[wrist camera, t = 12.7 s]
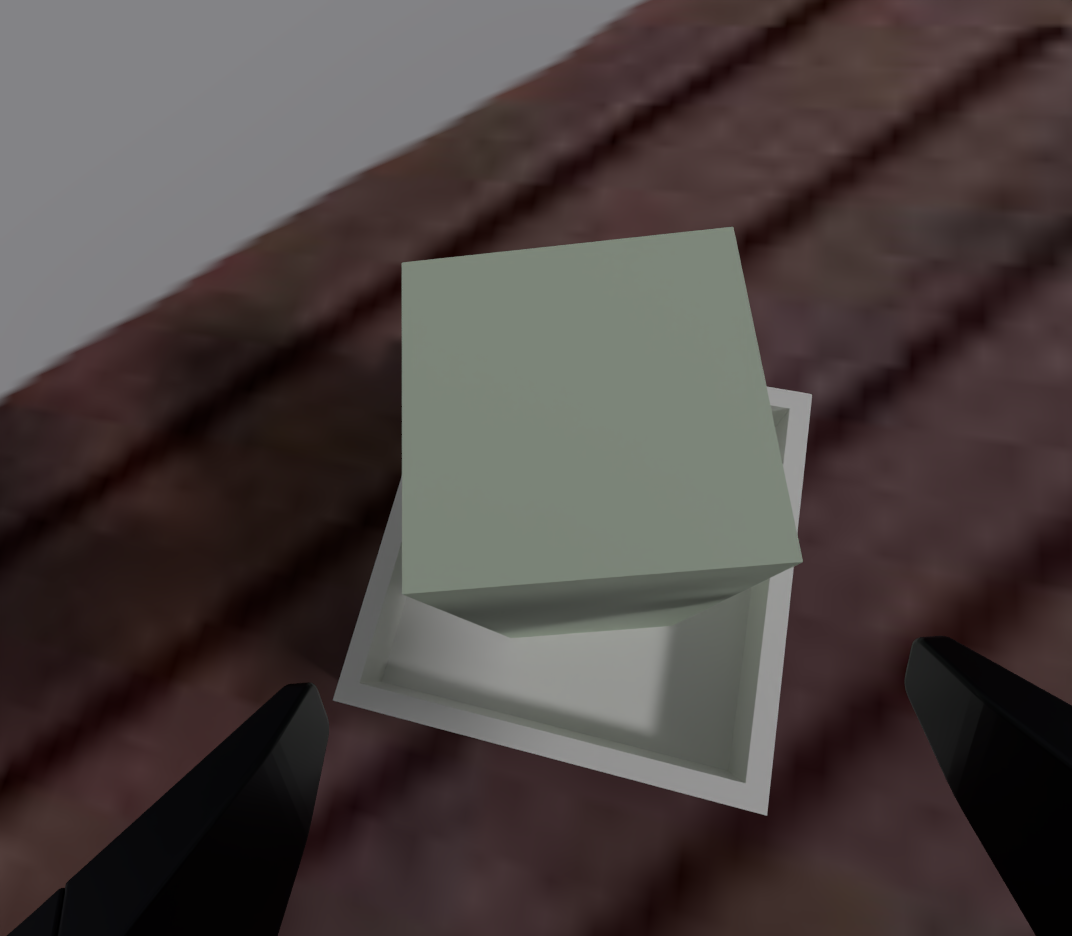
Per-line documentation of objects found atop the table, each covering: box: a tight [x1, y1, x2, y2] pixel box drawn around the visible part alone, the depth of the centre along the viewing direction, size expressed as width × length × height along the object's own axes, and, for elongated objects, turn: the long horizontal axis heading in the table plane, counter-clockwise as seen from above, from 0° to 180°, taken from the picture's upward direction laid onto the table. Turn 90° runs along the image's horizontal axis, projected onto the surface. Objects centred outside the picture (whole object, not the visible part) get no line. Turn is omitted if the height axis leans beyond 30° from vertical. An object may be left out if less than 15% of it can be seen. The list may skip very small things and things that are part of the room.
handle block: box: [402, 227, 803, 638], centre depth 14 cm, size 5×5×12 cm
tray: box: [333, 387, 812, 815], centre depth 19 cm, size 12×12×3 cm
